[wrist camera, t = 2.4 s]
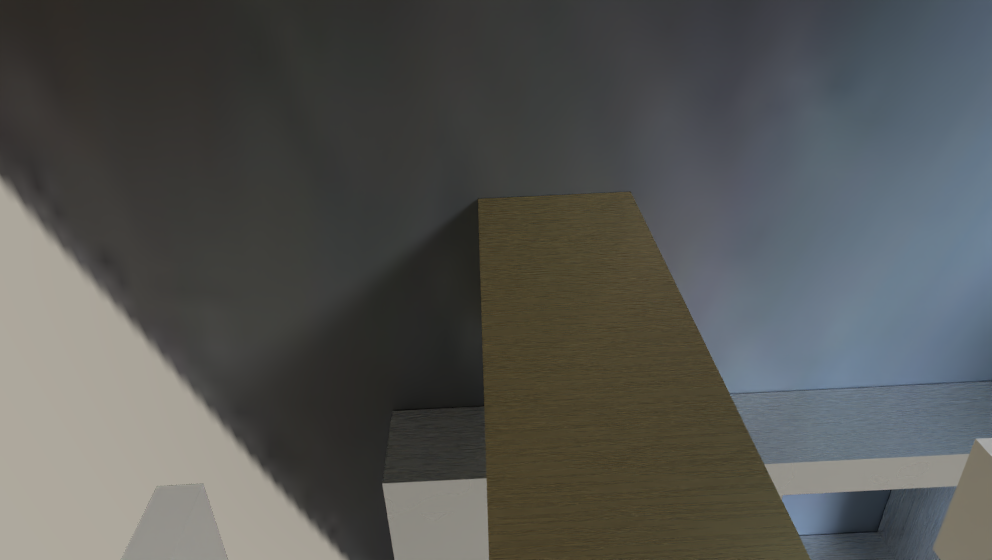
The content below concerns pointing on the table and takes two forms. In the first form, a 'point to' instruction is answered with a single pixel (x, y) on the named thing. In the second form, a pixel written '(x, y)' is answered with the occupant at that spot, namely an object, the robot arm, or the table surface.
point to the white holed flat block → (778, 439)
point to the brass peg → (608, 399)
